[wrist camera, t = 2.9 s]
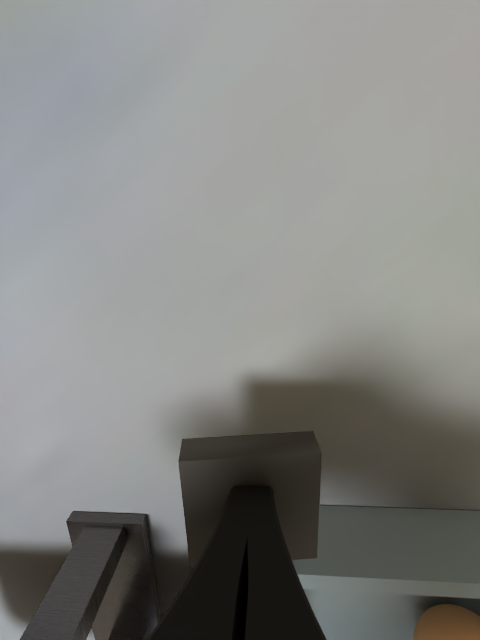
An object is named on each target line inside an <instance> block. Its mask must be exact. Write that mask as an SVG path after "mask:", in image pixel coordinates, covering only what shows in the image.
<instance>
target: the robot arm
mask: <svg viewBox="0 0 480 640" xmlns="http://www.w3.org/2000/svg"><path fill="white" fill-rule="evenodd" d="M147 640H327V639H326V637H325V635H324V633H323V631H322V629H321V627H320V625H319V623H318V621H317V618H316V616H315V614H314V612H313V610H312V608H311V605H310V603H309V601H308V599H307V596H306V594H305V592H304V589H303V587H302V585H301V582H300V580H299V577H298V575H297V572H296V570H295V567H294V565H293V562H292V559H291V556H290V554H289V551H288V548H287V545H286V542H285V539H284V536H283V533H282V530H281V526H280V522H279V519H278V515H277V511H276V506H275V500H274V491H273V489H272V488H271V487H270V486H234V487H233V488H232V489H231V490H230V493H229V496H228V499H227V502H226V504H225V507H224V509H223V512H222V514H221V516H220V518H219V521H218V523H217V525H216V527H215V529H214V531H213V533H212V535H211V537H210V539H209V541H208V543H207V545H206V547H205V549H204V551H203V553H202V555H201V556H200V558H199V560H198V562H197V563H196V565H195V567H194V568H193V570H192V572H191V574H190V575H189V577H188V579H187V581H186V582H185V584H184V585H183V587H182V589H181V590H180V592H179V593H178V595H177V597H176V598H175V600H174V601H173V603H172V604H171V606H170V607H169V609H168V610H167V612H166V613H165V615H164V616H163V618H162V619H161V620H160V622H159V623H158V625H157V626H156V627H155V629H154V630H153V632H152V633H151V634H150V636H149V637H148V638H147Z"/></svg>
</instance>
